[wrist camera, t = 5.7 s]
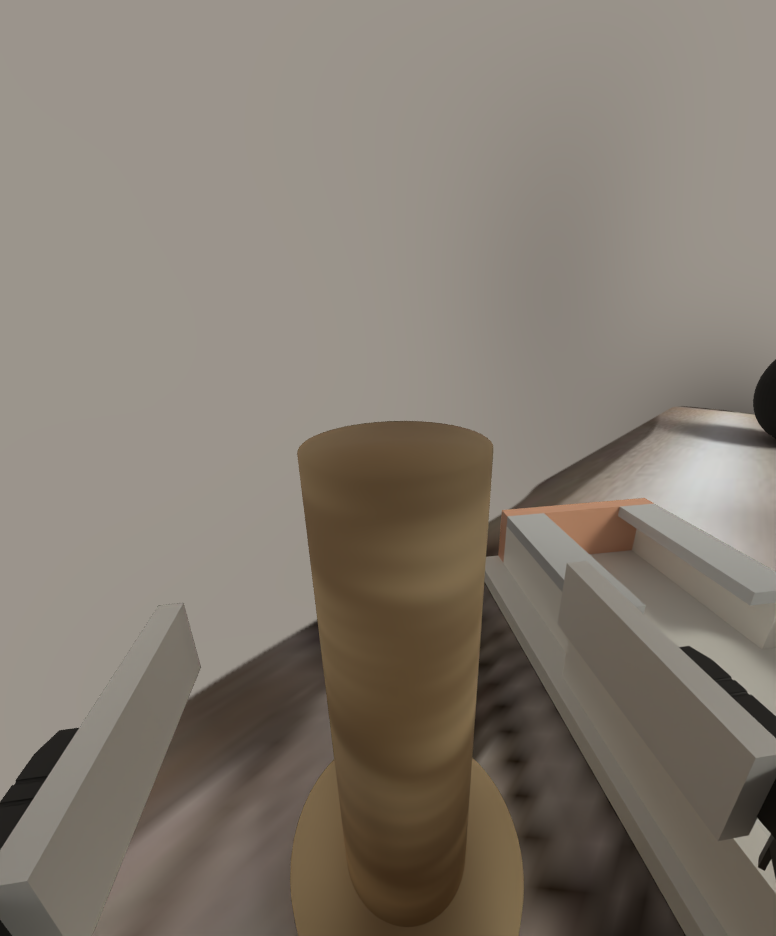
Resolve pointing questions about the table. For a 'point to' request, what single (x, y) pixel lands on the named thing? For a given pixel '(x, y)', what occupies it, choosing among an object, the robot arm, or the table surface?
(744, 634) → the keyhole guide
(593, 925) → the table surface
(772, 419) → the decorative egg
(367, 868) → the headed peg
